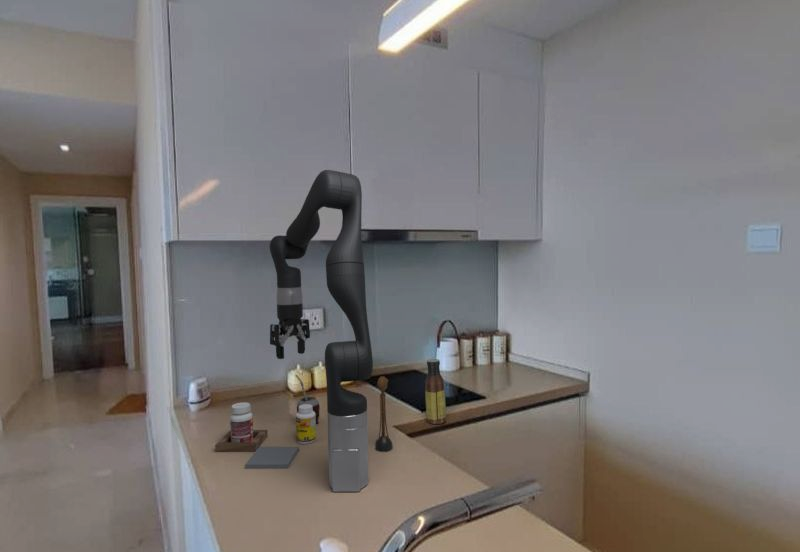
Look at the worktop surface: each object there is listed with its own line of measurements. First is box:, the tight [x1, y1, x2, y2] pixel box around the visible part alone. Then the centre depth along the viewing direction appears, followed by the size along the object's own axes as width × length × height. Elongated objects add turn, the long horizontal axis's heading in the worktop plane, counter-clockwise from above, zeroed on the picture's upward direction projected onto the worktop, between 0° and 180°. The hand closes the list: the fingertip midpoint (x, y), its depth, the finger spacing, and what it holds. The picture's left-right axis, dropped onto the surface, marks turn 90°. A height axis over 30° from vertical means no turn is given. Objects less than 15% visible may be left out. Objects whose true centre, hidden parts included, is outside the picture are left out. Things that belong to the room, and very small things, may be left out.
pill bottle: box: [229, 401, 254, 442], centre depth 133 cm, size 6×6×11 cm
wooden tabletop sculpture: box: [374, 376, 394, 453], centre depth 129 cm, size 6×5×20 cm
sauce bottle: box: [424, 358, 447, 425], centre depth 148 cm, size 6×6×20 cm
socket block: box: [214, 429, 268, 453], centre depth 133 cm, size 11×11×2 cm
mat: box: [244, 446, 300, 469], centre depth 123 cm, size 11×11×1 cm
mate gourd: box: [295, 374, 320, 425], centre depth 149 cm, size 8×8×15 cm
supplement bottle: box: [295, 404, 317, 445], centre depth 135 cm, size 6×6×10 cm
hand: (291, 356), depth 140 cm, fingers open, 8 cm apart
